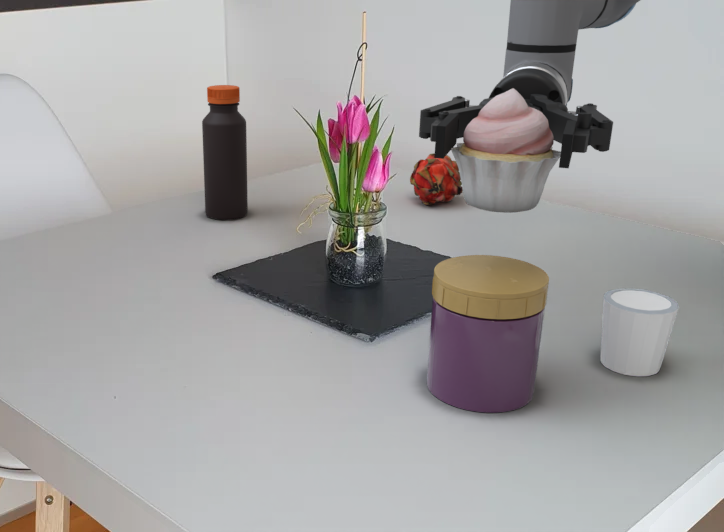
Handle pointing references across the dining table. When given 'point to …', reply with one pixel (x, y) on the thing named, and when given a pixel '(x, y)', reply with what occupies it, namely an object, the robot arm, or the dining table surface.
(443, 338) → the jar
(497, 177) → the cupcake
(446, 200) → the dragon fruit
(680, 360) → the dining table surface
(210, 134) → the bottle
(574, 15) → the robot arm
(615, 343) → the shot glass
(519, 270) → the jar lid
